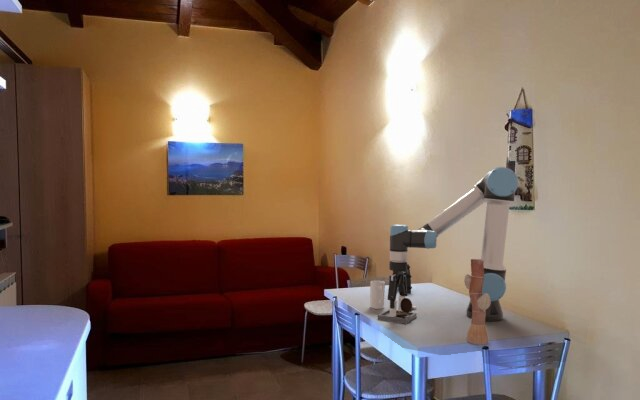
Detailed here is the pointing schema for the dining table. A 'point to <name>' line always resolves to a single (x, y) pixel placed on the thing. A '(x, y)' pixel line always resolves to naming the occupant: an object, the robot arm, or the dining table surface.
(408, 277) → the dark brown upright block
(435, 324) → the dining table surface
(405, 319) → the grey square tray
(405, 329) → the dining table surface
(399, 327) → the dining table surface
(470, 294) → the brown tall piece
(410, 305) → the compass
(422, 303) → the dining table surface
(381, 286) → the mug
